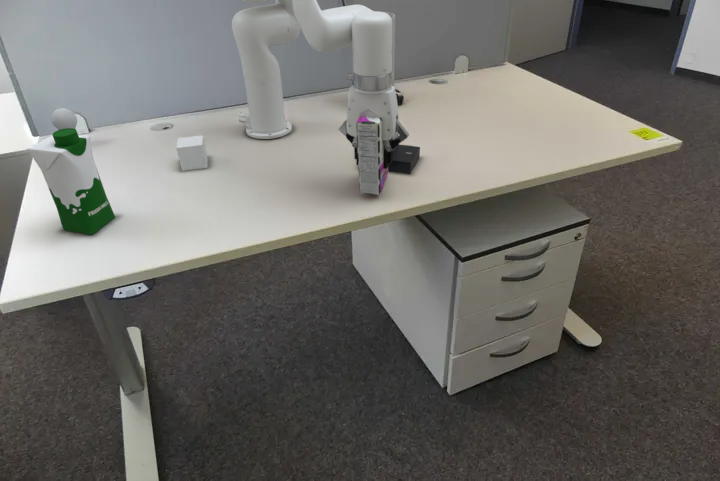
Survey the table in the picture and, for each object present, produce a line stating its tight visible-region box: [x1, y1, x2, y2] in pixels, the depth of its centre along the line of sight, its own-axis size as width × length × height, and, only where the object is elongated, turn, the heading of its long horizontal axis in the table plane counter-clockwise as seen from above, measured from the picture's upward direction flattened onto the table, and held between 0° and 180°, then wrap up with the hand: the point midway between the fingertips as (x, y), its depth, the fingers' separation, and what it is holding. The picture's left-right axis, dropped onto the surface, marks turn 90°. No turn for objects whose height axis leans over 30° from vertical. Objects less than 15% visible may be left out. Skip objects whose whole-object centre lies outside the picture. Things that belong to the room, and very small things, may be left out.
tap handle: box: [393, 132, 399, 154], centre depth 123 cm, size 6×2×5 cm, turn 161°
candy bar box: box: [356, 116, 390, 196], centre depth 110 cm, size 11×5×16 cm, turn 168°
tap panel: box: [388, 143, 421, 175], centre depth 125 cm, size 12×10×3 cm
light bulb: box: [50, 107, 78, 131], centre depth 137 cm, size 6×6×10 cm
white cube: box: [175, 134, 208, 172], centre depth 126 cm, size 6×6×6 cm
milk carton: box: [26, 128, 116, 236], centre depth 101 cm, size 9×9×20 cm
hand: (373, 163), depth 112 cm, fingers closed on candy bar box, 5 cm apart
